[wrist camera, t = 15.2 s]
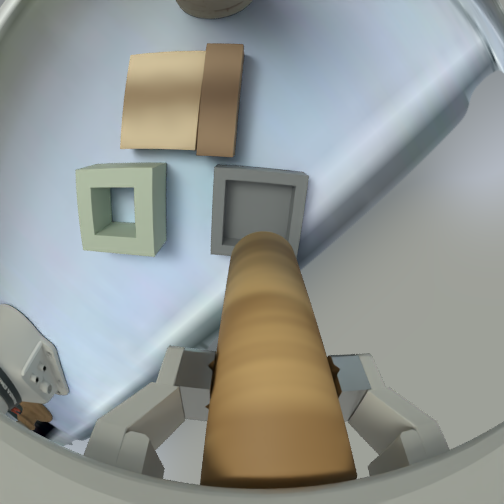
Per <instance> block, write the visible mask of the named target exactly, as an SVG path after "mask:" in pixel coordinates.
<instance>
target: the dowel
mask: <svg viewBox="0 0 504 504" xmlns="http://www.w3.org/2000/svg"><path fill="white" fill-rule="evenodd" d="M356 478H357V473H356V468H355V464H354V459H353V455H352V451H351V447H350V442H349V438H348V434H347V430H346V427H345V422H344V418H343V414H342V411H341V407H340V403H339V399H338V395H337V392H336V388H335V384H334V381H333V377H332V373H331V370H330V366H329V363H328V359H327V356H326V352H325V349H324V346H323V342H322V339H321V336H320V332H319V329H318V326H317V322H316V319H315V316H314V312H313V310H312V306H311V303H310V300H309V297H308V293H307V290H306V287H305V284H304V281H303V278H302V275H301V272H300V269H299V266H298V263H297V260H296V257H295V254H294V251H293V248H292V246H291V245H290V244H289V242H288V241H287V240H286V239H285V238H283V237H282V236H280V235H278V234H276V233H272V232H267V231H260V232H254V233H251V234H249V235H247V236H245V237H243V238H242V239H241V240H240V241H239V242H238V243H237V244H236V245H235V247H234V249H233V251H232V254H231V259H230V265H229V271H228V278H227V284H226V291H225V297H224V304H223V311H222V317H221V324H220V331H219V338H218V345H217V352H216V361H215V369H214V374H213V384H212V391H211V399H210V404H209V412H208V420H207V428H206V436H205V445H204V454H203V462H202V471H201V481H200V485H204V486H214V487H226V488H246V489H276V488H295V487H307V486H317V485H325V484H332V483H338V482H344V481H350V480H355V479H356Z"/></svg>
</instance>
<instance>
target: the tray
mask: <svg viewBox="0 0 504 504" xmlns="http://www.w3.org/2000/svg"><path fill="white" fill-rule="evenodd" d="M308 179H309V176H308V175H307V174H305V173H304V172H298V171H290V170H281V169H271V168H261V167H249V166H236V165H220V164H218V165H217V166H215V167H214V184H213V204H212V228H211V254H215V255H227V256H231V254H232V251H233V249H234V247H235V245H236V244H237V243H238V242H239V241H240V240H241V239H242V238H243V237H245V236H247V235H249V234H251V233H254V232H260V231H267V232H272V233H276V234H278V235H280V236H282V237H283V238H285V239H286V240H287V241H288V242H289V244H290V245H291V246H292V248H293V251H294V254H295V257H296V259H297V253H298V247H299V240H300V234H301V228H302V221H303V214H304V208H305V201H306V193H307V186H308Z"/></svg>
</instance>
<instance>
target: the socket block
mask: <svg viewBox="0 0 504 504" xmlns="http://www.w3.org/2000/svg"><path fill="white" fill-rule="evenodd" d="M110 187H134V205H135V223H126V222H112V212H111V194H110ZM76 189H77V203H78V213H79V223H80V231H81V238H82V245H83V250H87V251H98V252H108V253H119V254H130V255H141V256H152V257H155V255H156V254H157V253H158V251H159V250H160V249H161V247H162V246H163V244H164V243H165V242H166V163H108V164H95V165H91V166H88V167H84V168H81V169H77V170H76Z"/></svg>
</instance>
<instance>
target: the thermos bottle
mask: <svg viewBox="0 0 504 504" xmlns="http://www.w3.org/2000/svg"><path fill="white" fill-rule="evenodd" d="M176 1H177V3H178V5H179V6H180V8H181V9H182V10H183V11H185V12H186V13H188V14H190V15H192V16H195V17H199V18H205V19H215V18H222V17H226V16H230V15H233V14H235V13H237V12H239V11H241V10H243V9H244V8H245V7H247V6H248V5H249V4H250V3H251V2H252V1H253V0H176Z"/></svg>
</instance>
